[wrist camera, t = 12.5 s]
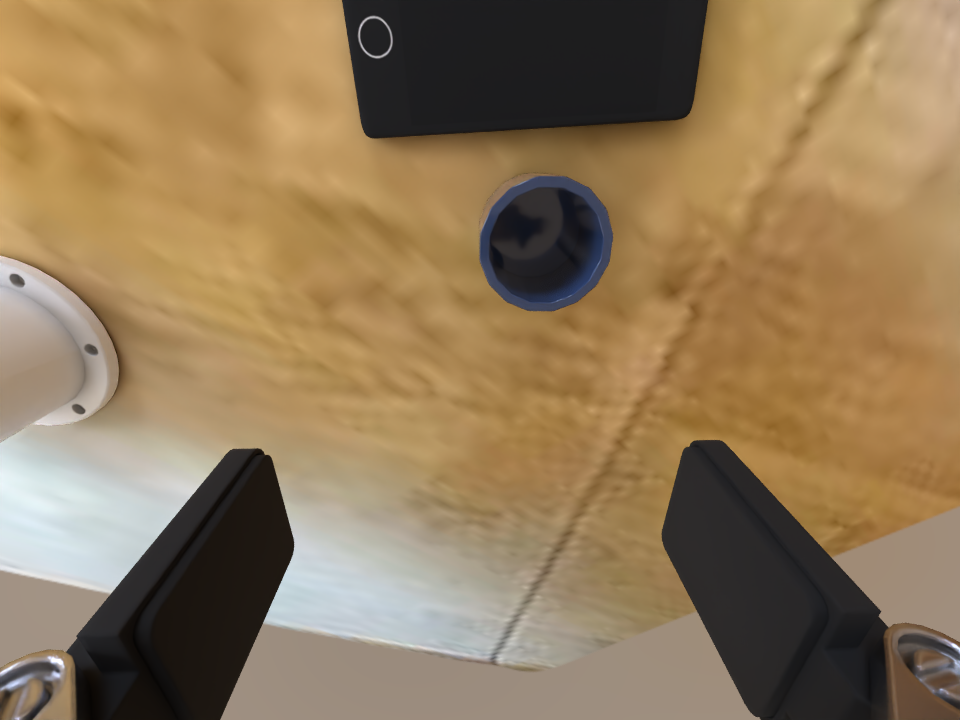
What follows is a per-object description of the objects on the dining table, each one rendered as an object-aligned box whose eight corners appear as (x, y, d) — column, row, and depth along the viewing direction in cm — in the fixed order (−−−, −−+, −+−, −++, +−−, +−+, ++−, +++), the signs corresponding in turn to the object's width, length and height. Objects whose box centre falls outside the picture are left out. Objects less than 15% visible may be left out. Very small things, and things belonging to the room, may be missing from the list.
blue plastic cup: (478, 281, 27) (478, 310, 22) (480, 172, 25) (480, 175, 19) (577, 282, 27) (602, 312, 22) (590, 173, 25) (622, 177, 19)
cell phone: (335, -70, 20) (329, -80, 19) (714, -96, 20) (725, -108, 19) (367, 139, 24) (362, 138, 23) (684, 119, 23) (692, 118, 22)
